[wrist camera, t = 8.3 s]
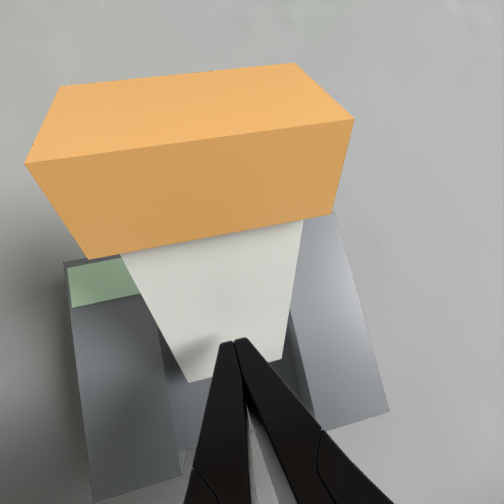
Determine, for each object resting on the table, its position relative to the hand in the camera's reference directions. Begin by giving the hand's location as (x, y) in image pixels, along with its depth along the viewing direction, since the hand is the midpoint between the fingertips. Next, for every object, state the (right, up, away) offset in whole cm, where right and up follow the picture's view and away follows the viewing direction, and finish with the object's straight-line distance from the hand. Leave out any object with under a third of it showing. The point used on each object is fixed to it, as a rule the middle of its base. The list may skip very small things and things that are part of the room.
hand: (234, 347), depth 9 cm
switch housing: (-1, -1, +6) cm, 6 cm away
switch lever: (0, -1, +3) cm, 3 cm away
